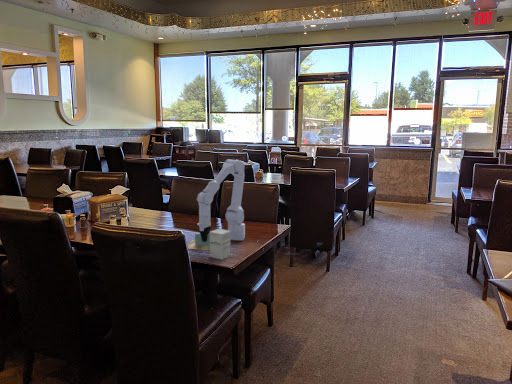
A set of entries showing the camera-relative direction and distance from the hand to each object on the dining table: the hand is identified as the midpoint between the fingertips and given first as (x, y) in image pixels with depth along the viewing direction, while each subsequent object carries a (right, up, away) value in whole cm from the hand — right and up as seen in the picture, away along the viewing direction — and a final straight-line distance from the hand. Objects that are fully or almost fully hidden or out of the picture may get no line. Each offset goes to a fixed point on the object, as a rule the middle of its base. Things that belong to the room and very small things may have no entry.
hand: (204, 241), depth 194 cm
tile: (0, -2, 0) cm, 2 cm away
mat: (-1, -2, +2) cm, 3 cm away
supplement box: (+9, -6, -15) cm, 19 cm away
